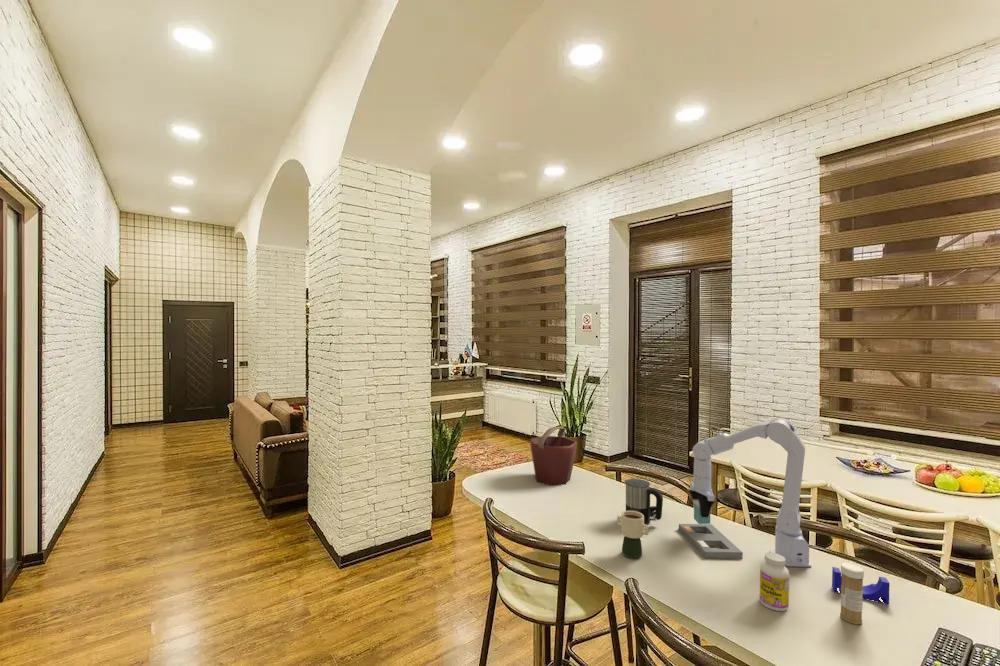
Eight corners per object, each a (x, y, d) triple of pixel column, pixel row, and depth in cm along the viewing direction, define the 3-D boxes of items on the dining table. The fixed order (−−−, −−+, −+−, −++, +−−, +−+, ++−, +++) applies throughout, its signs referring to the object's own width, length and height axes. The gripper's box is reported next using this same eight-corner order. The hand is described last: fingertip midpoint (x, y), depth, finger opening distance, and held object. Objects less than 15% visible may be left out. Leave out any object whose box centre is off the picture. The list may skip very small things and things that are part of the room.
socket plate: (742, 558, 145) (742, 551, 145) (705, 558, 145) (705, 550, 145) (711, 529, 166) (711, 523, 166) (678, 529, 166) (678, 523, 166)
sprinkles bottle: (841, 611, 118) (842, 560, 118) (863, 619, 115) (864, 566, 115) (838, 619, 115) (839, 566, 115) (861, 628, 112) (862, 573, 112)
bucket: (554, 469, 236) (555, 421, 236) (587, 480, 219) (588, 428, 219) (519, 478, 220) (520, 427, 220) (552, 491, 203) (553, 435, 203)
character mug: (653, 557, 145) (653, 516, 145) (642, 565, 140) (643, 523, 140) (622, 545, 153) (623, 507, 153) (611, 552, 148) (611, 512, 148)
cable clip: (883, 596, 126) (884, 575, 126) (888, 605, 122) (889, 583, 122) (830, 585, 131) (831, 564, 131) (834, 592, 127) (834, 571, 127)
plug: (711, 524, 159) (711, 504, 159) (698, 524, 159) (698, 504, 159) (705, 518, 164) (705, 499, 164) (692, 518, 164) (692, 499, 163)
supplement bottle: (755, 603, 121) (756, 555, 121) (764, 594, 125) (765, 548, 125) (783, 615, 116) (784, 565, 116) (792, 606, 120) (793, 557, 120)
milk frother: (624, 524, 170) (625, 485, 170) (623, 508, 185) (624, 472, 185) (664, 529, 166) (665, 488, 166) (660, 512, 182) (660, 475, 182)
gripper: (682, 469, 168) (681, 505, 168) (700, 482, 154) (699, 522, 154) (701, 469, 168) (700, 506, 169) (721, 482, 154) (720, 522, 154)
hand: (701, 513), depth 161 cm, fingers closed on plug, 4 cm apart
